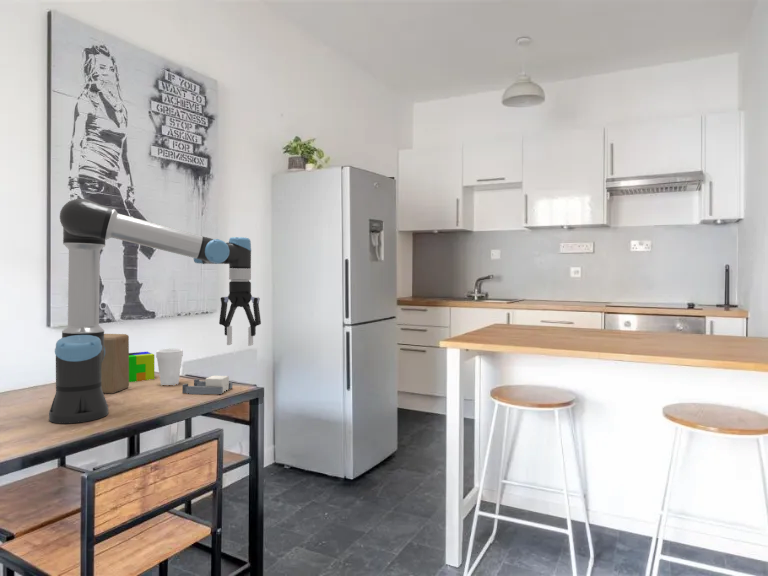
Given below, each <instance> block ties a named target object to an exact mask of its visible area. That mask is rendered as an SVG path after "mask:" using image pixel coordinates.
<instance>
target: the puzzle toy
mask: <svg viewBox="0 0 768 576" xmlns="http://www.w3.org/2000/svg"><path fill="white" fill-rule="evenodd" d="M149 379H153V380H155V354H154V353H152V352H149V351H139V352H129V383H136V382H143V381H142V380H145V381H150V380H149ZM135 381H136V382H135Z"/></svg>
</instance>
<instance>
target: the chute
mask: <svg viewBox="0 0 768 576" xmlns="http://www.w3.org/2000/svg"><path fill="white" fill-rule="evenodd" d="M181 386H182V393H187V394H186V395H203V394H222V393H223V394H224V392H223V387H211V386H206V380H200V378H195V379H193V385H189V383H183V384H182V385H181ZM231 388H232V389H233V381H229V389H231ZM232 389H231V390H232ZM188 393H189V394H188ZM223 394H222V395H223Z"/></svg>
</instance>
